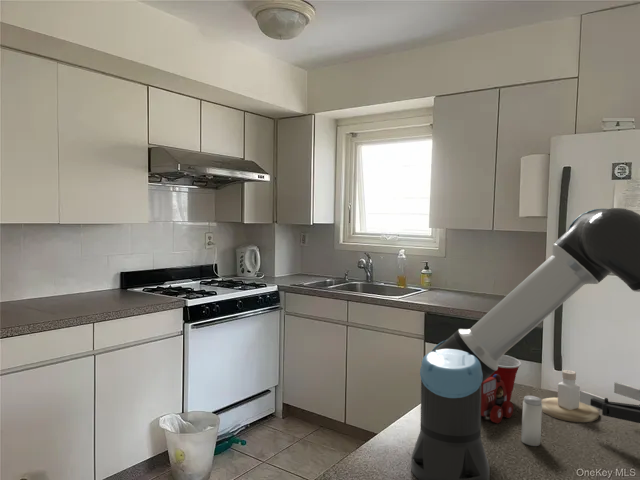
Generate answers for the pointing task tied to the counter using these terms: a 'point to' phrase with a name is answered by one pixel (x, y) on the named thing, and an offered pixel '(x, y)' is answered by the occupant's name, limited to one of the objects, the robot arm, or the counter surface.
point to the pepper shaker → (568, 391)
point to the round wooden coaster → (569, 411)
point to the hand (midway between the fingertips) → (598, 391)
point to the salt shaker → (531, 420)
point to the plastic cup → (507, 372)
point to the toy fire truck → (495, 399)
